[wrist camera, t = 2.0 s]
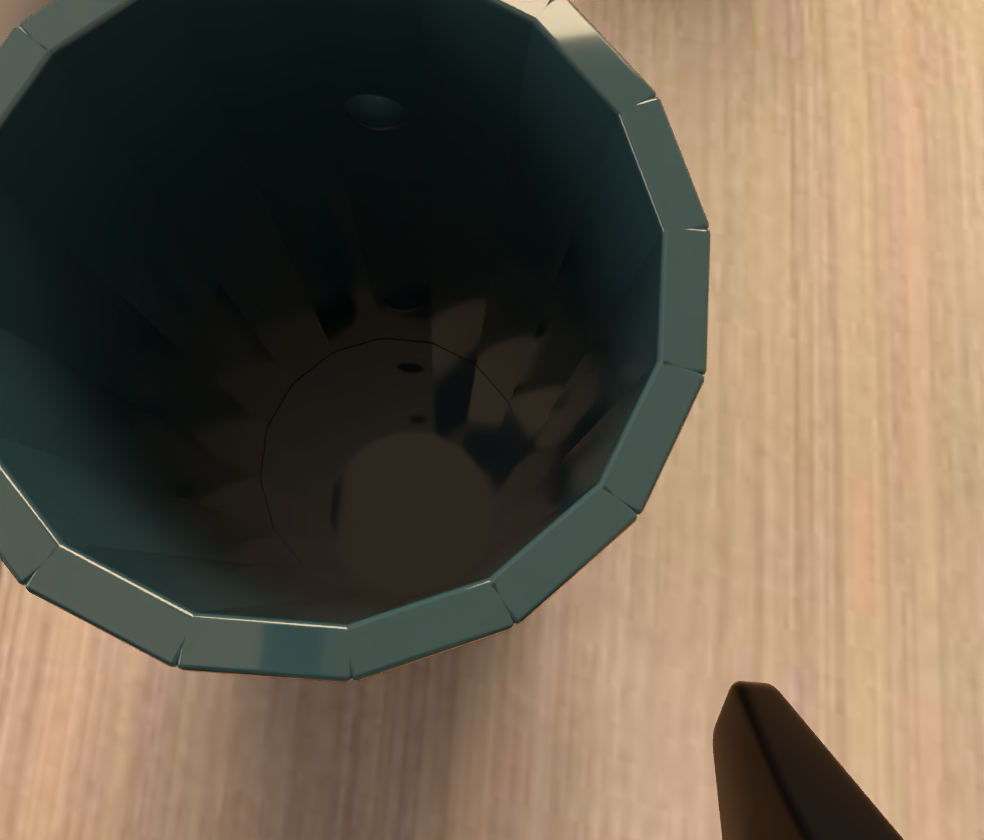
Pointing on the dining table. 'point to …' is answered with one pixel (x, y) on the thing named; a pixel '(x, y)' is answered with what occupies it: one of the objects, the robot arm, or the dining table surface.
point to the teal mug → (332, 320)
